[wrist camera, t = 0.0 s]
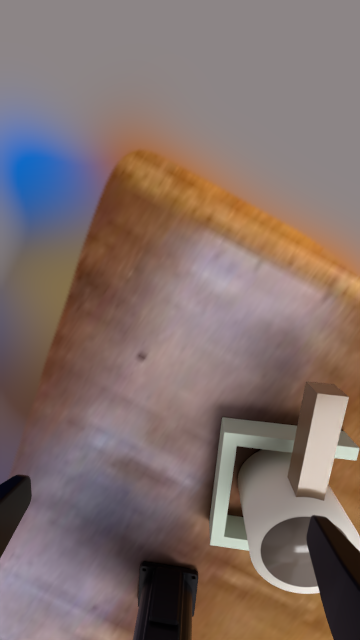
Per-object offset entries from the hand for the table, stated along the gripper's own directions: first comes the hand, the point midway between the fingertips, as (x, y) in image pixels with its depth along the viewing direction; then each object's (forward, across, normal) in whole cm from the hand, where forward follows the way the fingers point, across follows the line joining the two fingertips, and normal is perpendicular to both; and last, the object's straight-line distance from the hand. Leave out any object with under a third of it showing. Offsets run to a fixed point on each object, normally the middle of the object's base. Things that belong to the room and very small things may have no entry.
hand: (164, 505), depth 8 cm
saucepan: (+15, -10, +8) cm, 20 cm away
